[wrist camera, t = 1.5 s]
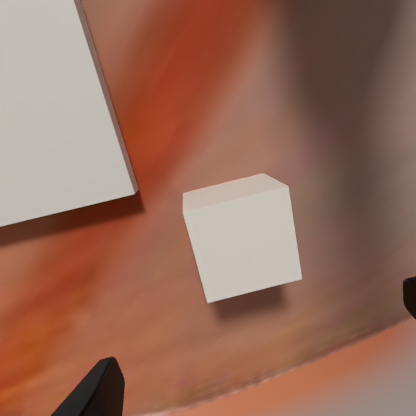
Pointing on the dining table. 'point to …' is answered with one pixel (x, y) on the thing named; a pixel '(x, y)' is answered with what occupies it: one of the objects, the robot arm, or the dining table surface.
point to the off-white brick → (242, 236)
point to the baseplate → (55, 115)
